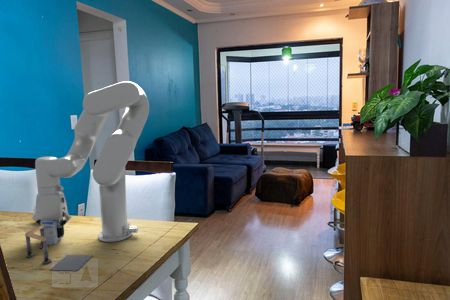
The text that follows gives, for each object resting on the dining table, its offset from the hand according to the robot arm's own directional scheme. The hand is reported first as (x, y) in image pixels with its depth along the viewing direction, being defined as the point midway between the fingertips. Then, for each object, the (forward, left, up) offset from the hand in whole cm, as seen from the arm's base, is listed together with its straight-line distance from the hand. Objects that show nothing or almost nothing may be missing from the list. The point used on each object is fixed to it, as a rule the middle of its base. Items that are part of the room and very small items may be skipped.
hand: (53, 236), depth 127 cm
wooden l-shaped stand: (-4, +12, -2) cm, 13 cm away
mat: (-16, +18, -2) cm, 24 cm away
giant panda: (+13, -17, -2) cm, 21 cm away
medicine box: (0, 0, -2) cm, 2 cm away
